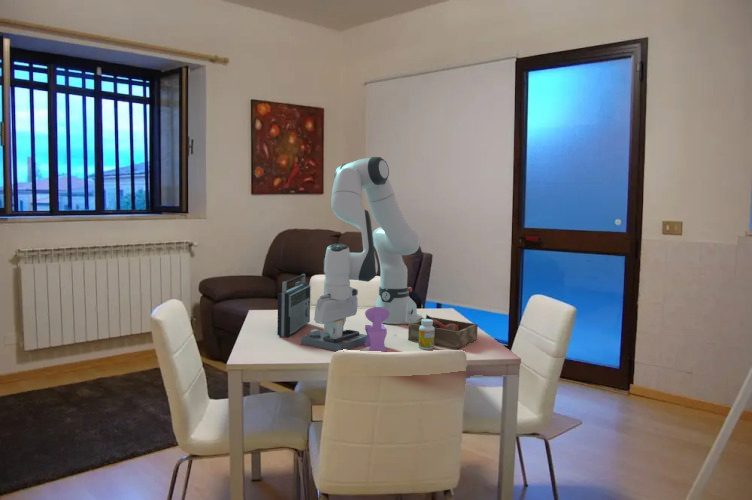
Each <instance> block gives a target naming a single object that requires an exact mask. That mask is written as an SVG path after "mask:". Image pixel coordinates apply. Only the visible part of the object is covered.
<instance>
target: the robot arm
mask: <svg viewBox="0 0 752 500" xmlns="http://www.w3.org/2000/svg"><path fill="white" fill-rule="evenodd" d="M389 176H390V169H389V165H388V163H387V161H386V160H385V159H384V158H383V157H380V156H372V157H370V158H369V157H367V158H360V159H357V160H355V161H351V162H348V163H343V164H342V165H339V166H338V167H337V168H336V169H335V172H334V179H333V180H334V181H333V184H332V190H331V197H330V198H331V200H330V203H331V204H330V205H331V211H332V213H333V214H334V216H336V217H337V218H338V219H339V220H341V221H342V222H344V223H347V224H349V225H351V226H354V227H355V228H357V229H359V231H360V232H361V239H362V240H361V241H362V249H363V251H362V252H350V247H349V246H348V245H346V244H343V243H333V244H330V245H328V246H327V247H326V249H325V250H326V251H325V255H324V256H325V257H324V259H323V262H322V263H323V264H322V266H323V267H322V269H323V274H324V282H323V295H320V296H319V298H318V299H317V300H316V303H315V309H314V317H313V319H314V322H315V324H321V325H324V324H325V323H326V325H327V327H328V333H329V334H334V333H335V328H333V324H334V321H336V320H339V319H342V320H343V321H342V331H344V327H345V325H346V324H345V323H346V322H347V318H350V317H354V316H356V315H357V312H358V295H359V289H357V288H354V287H352V286H351V281H361V282H367V283H368V282H371V280H373V279H375V278H376V277H377V274H378V271H379V270H380V280H379V281H380V285H379V286H378V287H379V288H378V295H379V297H378V298H377V299H376V302H375V303H376V304H375V307H383V308H386V309H387V310H389V313H390V314H389V317H388V318H387V319H386V320H384V321H383V322H382V324H389V325H404V324H405V325H409V324H410V323H413V322H416V321H419V320H421V319H423V315H422V314H419V313H418V308H417V303H416V302H415V301H414V300H413V299H412V298H411V297H410V293H412V291H413V288H412V287H411V286H408V270H409V269H408V267H407V265H406V264H405V261H404V259H403V256H409V255H413V254H416V252H417V251H418V250H419V249H420V244H421V239H420V236H419V234H418V233H417V232H416V231H415V230H414V229H413V228H412V227H411V226H410V225H409V223H408V221H407V219H406V218H405V217H404V215H403V213H402V211H401V210H400V207H399V204H398V201H397V198H396V196H395V192H394V189H393V186H392V184H391V182H390V180H389ZM363 190H364V192H365V193H364V194H365V196H366V200H367V204H368V207H369V209H370V213H371V215H372V218H373V220H374V221H375V222H376V223H377V224H378V225H379V227H377V228H375V230H373V227H372V221H371V215H370V213H369V210H367V209H365V207H364V206H363V201H362V200H363V199H362V198H363V197H362V195H363ZM375 250H376V251H375ZM376 254H377V257H378V258H377V257H376ZM377 259H378V260H377ZM378 261H379V266H380V269H379V266H378ZM378 269H379V270H378ZM350 280H351V281H350Z"/></svg>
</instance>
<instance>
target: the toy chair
mask: <svg viewBox="0 0 752 500" xmlns="http://www.w3.org/2000/svg"><path fill="white" fill-rule="evenodd" d="M389 314H390V313H389V310H387V309H386V308H383V307H376V306H373V307H370V308H368V309H366V311H365V312H364V315H365V318H367V320H368V321H369V322H371V323H372V324H365V325H364V327H365V328H364V330H365V332H366V335H367V341H366V343H365V344H364V347H369V349H368V351H387V348H386V346H385V341H386V340H385V339H386V336H387V333H388V332H387V330H388V329H387V328H386V326H385V325H384V324H383V323H382V322H383V321H384V320H386V319H387V318H388V317H389Z"/></svg>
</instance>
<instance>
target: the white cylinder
mask: <svg viewBox="0 0 752 500" xmlns="http://www.w3.org/2000/svg"><path fill="white" fill-rule="evenodd" d="M342 321H343V320H342V319H339V320H336V321H334V324H333V328H335V333H334V334H330V338H332V339H337V338H340V337H342Z"/></svg>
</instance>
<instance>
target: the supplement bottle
mask: <svg viewBox="0 0 752 500" xmlns="http://www.w3.org/2000/svg"><path fill="white" fill-rule="evenodd" d="M421 319H422V321H421V324H422V325H421V326H420V327H419V342H418V348H419V349H421V350H433V349H434V348H435V345H434V335H435V328H434V327H433V326H432V325H433V320H431V319H424V318H421Z"/></svg>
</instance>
